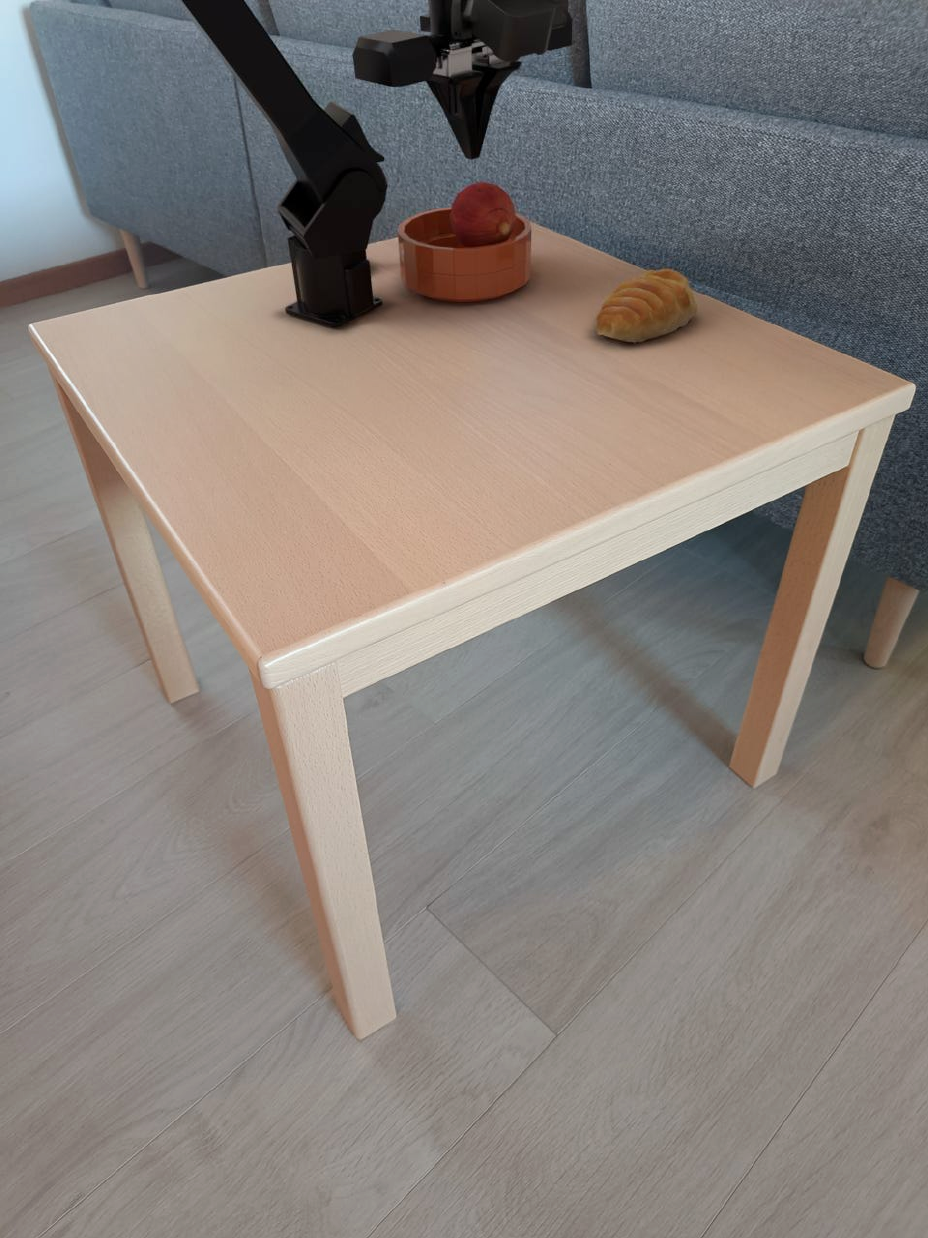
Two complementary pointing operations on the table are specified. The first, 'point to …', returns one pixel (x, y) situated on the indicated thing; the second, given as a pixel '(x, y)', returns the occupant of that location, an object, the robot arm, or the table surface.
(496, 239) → the onion
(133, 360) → the table surface
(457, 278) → the bowl
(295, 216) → the robot arm
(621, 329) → the pastry
